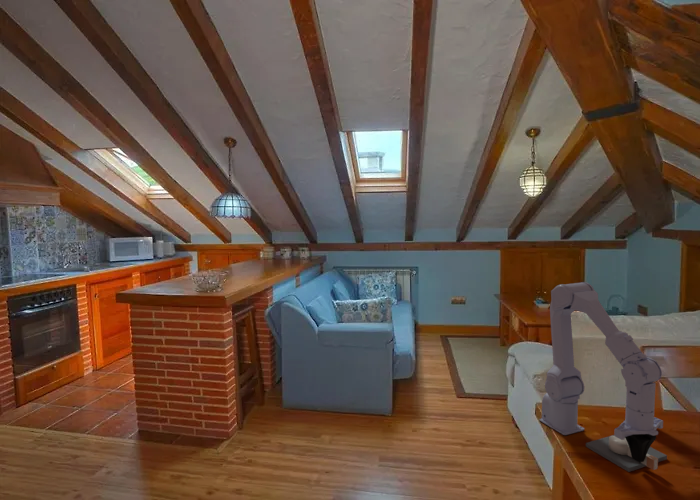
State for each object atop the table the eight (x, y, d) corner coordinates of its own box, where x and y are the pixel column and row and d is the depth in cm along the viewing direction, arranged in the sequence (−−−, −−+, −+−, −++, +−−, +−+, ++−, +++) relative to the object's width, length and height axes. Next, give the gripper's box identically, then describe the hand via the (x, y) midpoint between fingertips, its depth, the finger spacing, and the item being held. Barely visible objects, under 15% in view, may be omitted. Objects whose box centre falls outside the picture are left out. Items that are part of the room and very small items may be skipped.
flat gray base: (585, 446, 111) (585, 443, 111) (621, 435, 116) (621, 432, 116) (628, 472, 100) (628, 468, 100) (666, 459, 105) (666, 455, 105)
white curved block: (604, 446, 109) (604, 437, 109) (617, 442, 110) (617, 434, 110) (648, 471, 98) (648, 461, 98) (662, 466, 100) (662, 457, 99)
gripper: (635, 420, 94) (633, 476, 95) (677, 409, 98) (674, 462, 100) (607, 407, 100) (605, 459, 101) (647, 397, 105) (645, 447, 106)
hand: (637, 459), depth 101 cm, fingers closed
